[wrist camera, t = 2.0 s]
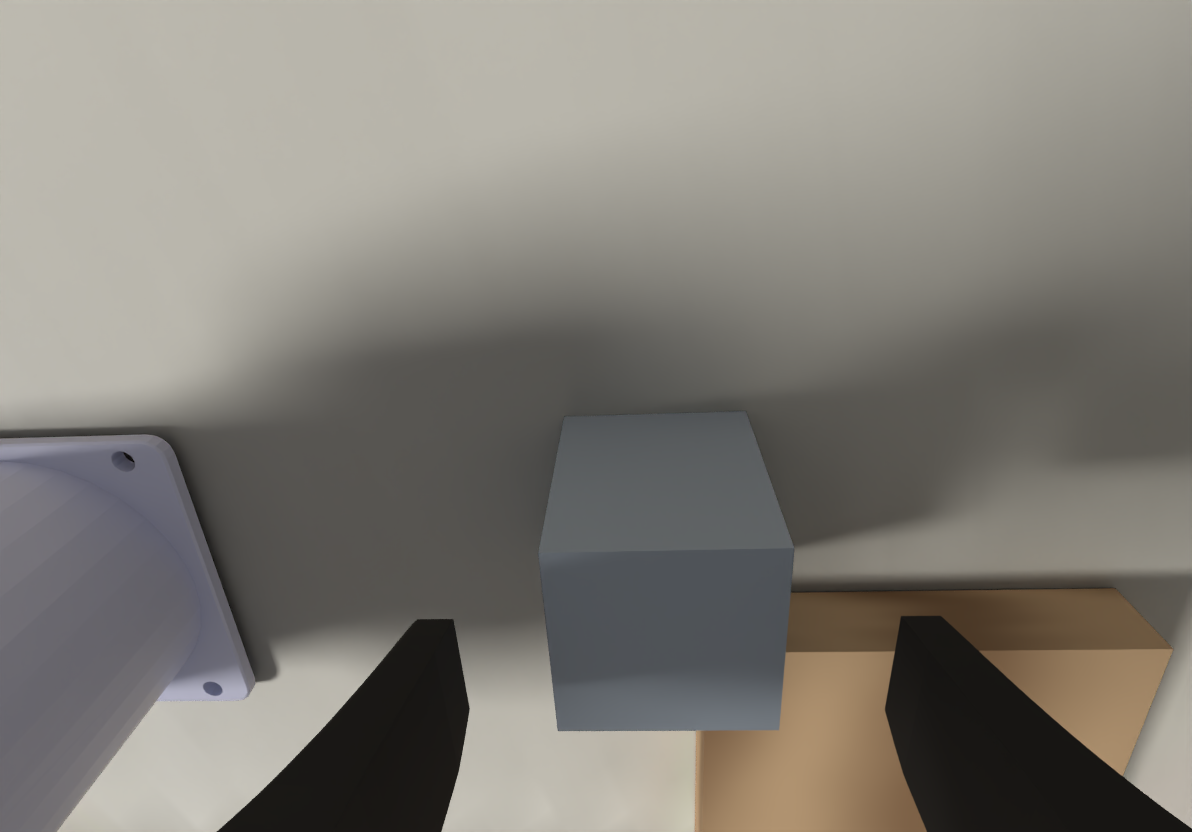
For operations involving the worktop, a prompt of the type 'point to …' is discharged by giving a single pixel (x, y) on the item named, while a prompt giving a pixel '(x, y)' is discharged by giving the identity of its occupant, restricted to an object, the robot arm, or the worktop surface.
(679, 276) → the worktop surface
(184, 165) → the worktop surface
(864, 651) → the slab
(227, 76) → the worktop surface
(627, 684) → the block
